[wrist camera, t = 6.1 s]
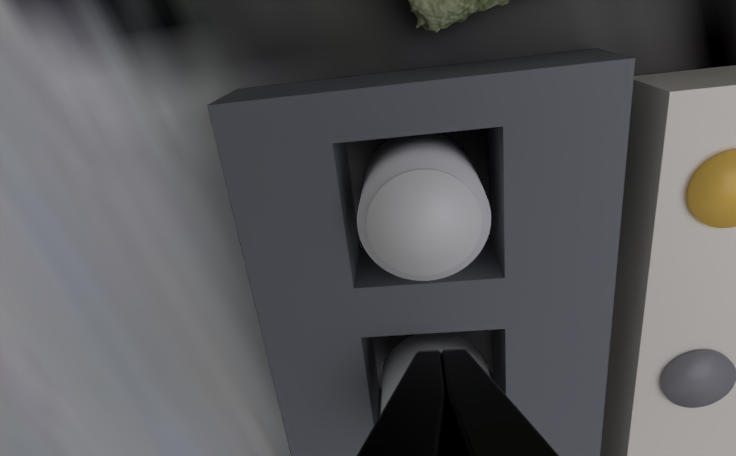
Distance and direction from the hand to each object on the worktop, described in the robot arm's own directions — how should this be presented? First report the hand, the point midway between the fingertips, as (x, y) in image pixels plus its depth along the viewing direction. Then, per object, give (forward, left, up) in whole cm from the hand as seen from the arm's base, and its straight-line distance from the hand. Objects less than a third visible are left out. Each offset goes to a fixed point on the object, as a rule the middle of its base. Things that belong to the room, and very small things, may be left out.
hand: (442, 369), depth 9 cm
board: (0, -7, -11) cm, 13 cm away
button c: (0, 0, -10) cm, 10 cm away
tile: (+9, -7, -11) cm, 16 cm away
